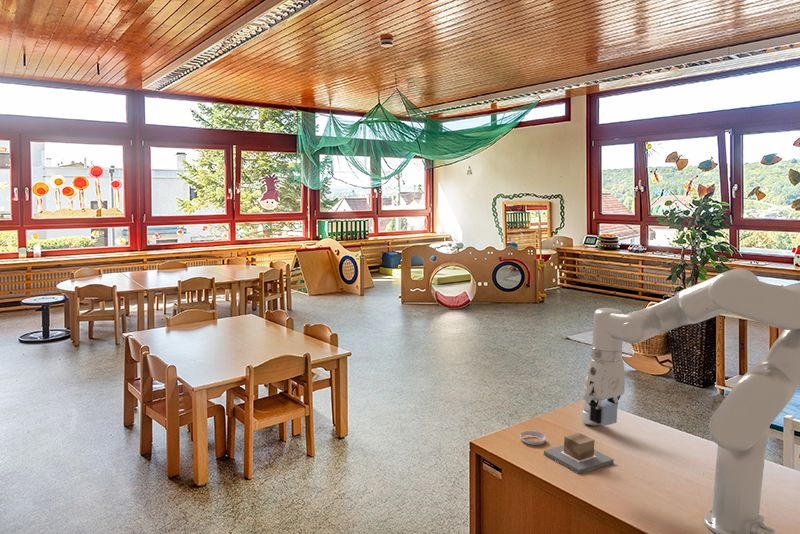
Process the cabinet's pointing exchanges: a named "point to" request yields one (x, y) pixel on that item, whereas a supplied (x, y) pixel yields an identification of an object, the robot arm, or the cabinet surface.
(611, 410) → the slate blue cube
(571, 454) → the walnut block
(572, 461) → the building board
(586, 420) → the plastic bottle
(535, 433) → the lavender ring
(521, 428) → the cabinet surface
